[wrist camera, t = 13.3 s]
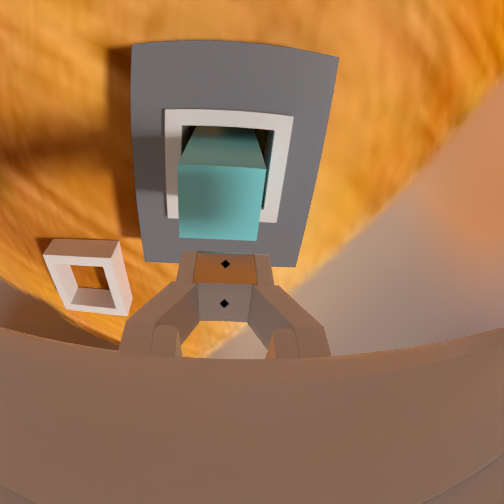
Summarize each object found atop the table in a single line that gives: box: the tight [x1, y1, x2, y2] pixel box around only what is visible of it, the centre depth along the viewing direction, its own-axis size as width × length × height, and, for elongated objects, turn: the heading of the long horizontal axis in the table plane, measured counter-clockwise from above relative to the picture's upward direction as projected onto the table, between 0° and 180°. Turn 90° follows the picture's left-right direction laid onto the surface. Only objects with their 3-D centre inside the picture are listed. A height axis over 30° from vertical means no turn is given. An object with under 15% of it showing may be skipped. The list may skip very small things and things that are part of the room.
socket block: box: [131, 41, 339, 267], centre depth 19 cm, size 12×16×3 cm
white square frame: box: [43, 239, 133, 316], centre depth 25 cm, size 8×8×2 cm
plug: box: [177, 126, 266, 241], centre depth 17 cm, size 4×4×8 cm
